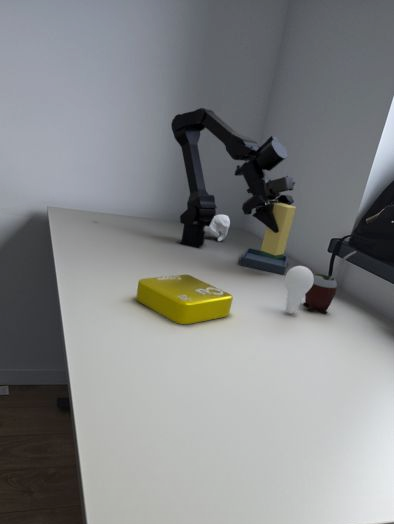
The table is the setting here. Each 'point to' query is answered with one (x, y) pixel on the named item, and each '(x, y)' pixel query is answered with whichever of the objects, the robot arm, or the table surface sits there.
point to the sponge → (277, 241)
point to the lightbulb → (297, 286)
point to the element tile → (184, 298)
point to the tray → (263, 261)
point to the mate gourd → (322, 290)
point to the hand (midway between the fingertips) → (281, 231)
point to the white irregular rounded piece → (219, 226)
